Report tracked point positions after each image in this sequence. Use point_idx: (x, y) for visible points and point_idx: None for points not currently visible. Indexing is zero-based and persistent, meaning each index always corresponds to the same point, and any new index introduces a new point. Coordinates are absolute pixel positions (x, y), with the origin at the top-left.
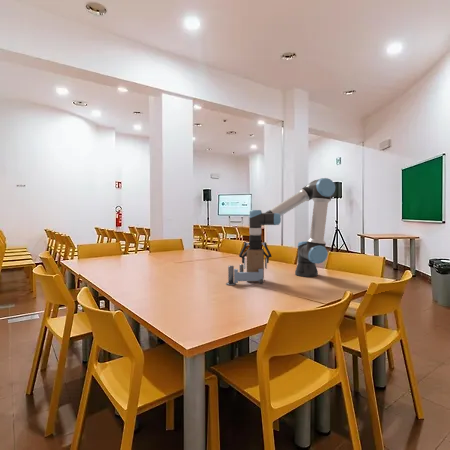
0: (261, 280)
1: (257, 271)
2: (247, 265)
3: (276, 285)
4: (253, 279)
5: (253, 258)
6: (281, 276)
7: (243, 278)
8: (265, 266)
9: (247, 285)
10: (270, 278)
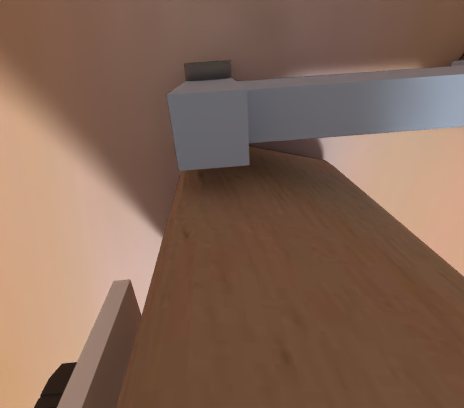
0: (204, 62)
1: (252, 182)
2: (432, 250)
3: (37, 10)
4: (299, 78)
5: (435, 364)
6: (43, 342)
7: (425, 70)
8: (128, 315)
9: (356, 19)
10: None
